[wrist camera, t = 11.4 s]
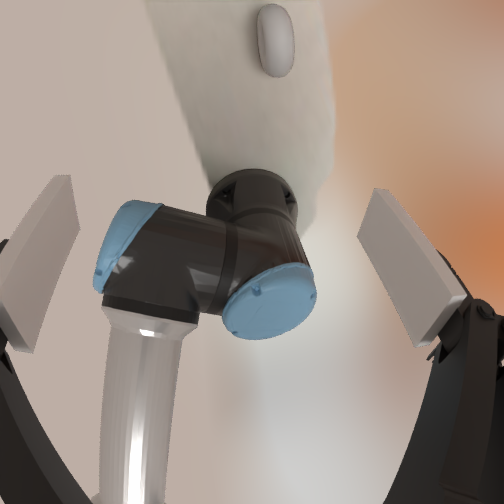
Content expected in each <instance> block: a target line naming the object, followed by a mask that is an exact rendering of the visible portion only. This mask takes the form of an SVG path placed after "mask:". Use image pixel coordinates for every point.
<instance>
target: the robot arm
mask: <svg viewBox="0 0 504 504" xmlns="http://www.w3.org/2000/svg"><path fill="white" fill-rule="evenodd" d="M297 214H298V208H297V202H296V199H295V196H294V194H293V192H292V190H291V188H290V186H289V185H288V184H287V182H286V181H285V180H283V179H282V178H281V177H280V176H278V175H276V174H274V173H272V172H269V171H266V170H260V169H248V170H242V171H238V172H235V173H233V174H231V175H229V176H227V177H225V178H224V179H222V180H221V181H220V182H219V183H218V184H217V185H216V186H215V187H214V188H213V190H212V191H211V193H210V195H209V197H208V200H207V204H206V216H204V215H200V214H196V213H192V212H188V211H184V210H180V209H176V208H173V207H168V206H165V205H164V204H162V203H158V204H155V203H150V202H143V201H139V200H132V201H128V202H126V203H125V204H123V205H122V206H121V207H120V209H119V210H118V211H117V213H116V215H115V216H114V218H113V220H112V222H111V224H110V226H109V229H108V231H107V233H106V236H105V238H104V241H103V244H102V247H101V250H100V253H99V256H98V260H97V263H96V264H97V266H96V269H95V273H94V277H93V287H94V289H95V290H96V291H98V292H99V293H101V294H102V293H103V292H104V296H103V301H102V307H101V308H102V310H103V312H104V313H105V315H106V316H107V318H108V319H109V321H110V324H111V332H110V338H109V345H108V353H107V362H106V370H105V380H104V389H103V402H102V416H101V433H100V465H99V467H100V468H99V487H100V493H98V494H96V495H95V496H93V497H92V499H91V500H90V499H89V498H88V497H87V496H86V494H85V493H84V491H83V490H82V489H81V487H80V486H79V484H78V483H77V482H76V480H75V479H74V478H73V476H72V474H71V473H70V472H69V470H68V469H67V467H66V466H65V464H64V462H63V461H62V459H61V458H60V456H59V455H58V453H57V451H56V450H55V448H54V447H53V445H52V443H51V441H50V440H49V438H48V436H47V435H46V433H45V431H44V429H43V427H42V426H41V424H40V422H39V420H38V418H37V417H36V414H35V413H34V411H33V409H32V407H31V405H30V403H29V401H28V399H27V396H26V394H25V392H24V390H23V388H22V386H21V384H20V381H19V379H18V377H17V374H16V372H15V370H14V367H13V365H12V362H11V360H10V358H9V355H8V353H7V352H6V351H5V347H6V344H7V341H9V343H10V344H11V346H12V347H13V349H14V350H15V351H21V352H27V353H33V351H34V348H35V345H36V341H37V338H38V335H39V332H40V329H41V326H42V323H43V320H44V317H45V314H46V311H47V308H48V305H49V303H50V300H51V297H52V294H53V292H54V289H55V286H56V284H57V281H58V279H59V276H60V274H61V271H62V269H63V266H64V264H65V262H66V259H67V257H68V255H69V253H70V250H71V248H72V246H73V243H74V241H75V239H76V237H77V235H78V232H79V230H80V226H79V222H78V216H77V211H76V206H75V201H74V196H73V189H72V184H71V177H70V175H55V176H54V177H53V178H52V179H51V181H50V182H49V183H48V184H47V186H46V187H45V189H44V190H43V191H42V192H41V194H40V195H39V197H38V198H37V200H36V201H35V202H34V203H33V205H32V206H31V208H30V209H29V210H28V212H27V213H26V215H25V216H24V218H23V219H22V221H21V222H20V224H19V225H18V227H17V228H16V230H15V231H14V233H13V234H12V236H11V237H10V239H8V240H7V239H4V240H3V241H2V242H1V243H0V496H1V498H2V500H3V501H4V503H5V504H165V503H164V498H165V484H166V472H167V462H168V452H169V441H170V432H171V423H172V414H173V406H174V397H175V390H176V382H177V374H178V367H179V359H180V352H181V345H182V340H183V338H184V337H185V336H186V335H187V334H189V333H190V332H191V331H193V330H194V329H196V328H197V326H198V320H199V314H200V312H202V313H208V314H214V315H220V316H222V320H223V323H224V325H225V326H226V328H227V330H228V331H230V332H231V333H232V334H233V335H234V336H236V337H239V338H243V339H248V340H260V339H267V338H272V337H275V336H278V335H281V334H283V333H285V332H287V331H290V330H291V329H293V328H295V327H296V326H298V325H299V324H300V323H301V322H303V321H304V320H305V319H306V318H307V317H308V315H309V314H310V313H311V311H312V309H313V308H314V305H315V302H316V298H317V292H316V287H315V283H314V279H313V278H314V276H313V272H312V269H311V267H310V265H309V262H308V260H307V257H306V255H305V252H304V249H303V247H302V245H301V242H300V239H299V237H298V234H297V232H296V221H297ZM357 238H358V239H359V241H360V243H361V244H362V246H363V248H364V250H365V252H366V253H367V255H368V257H369V259H370V261H371V262H372V264H373V266H374V268H375V270H376V272H377V273H378V275H379V277H380V279H381V281H382V282H383V285H384V287H385V289H386V290H387V292H388V294H389V296H390V298H391V300H392V302H393V304H394V306H395V308H396V310H397V312H398V314H399V316H400V318H401V320H402V322H403V324H404V326H405V328H406V330H407V332H408V335H409V337H410V339H411V341H412V343H413V345H414V347H421V346H427V345H430V344H431V342H432V341H433V340H434V339H435V337H436V336H437V335H438V336H439V338H440V340H441V342H440V343H439V344H438V345H437V346H436V348H435V349H434V350H433V351H432V352H431V354H430V355H429V356H428V358H427V360H430V359H431V357H432V356H434V360H433V361H432V363H433V365H432V369H431V373H430V377H429V381H428V384H427V388H426V392H425V396H424V399H423V402H422V405H421V409H420V412H419V415H418V418H417V421H416V424H415V427H414V431H413V433H412V436H411V439H410V442H409V444H408V447H407V450H406V452H405V455H404V458H403V460H402V463H401V465H400V468H399V471H398V472H397V475H396V477H395V480H394V482H393V484H392V486H391V489H390V491H389V493H388V495H387V498H386V499H385V501H384V503H383V504H504V366H502V363H501V361H502V360H503V359H504V316H501V315H497V314H496V313H495V311H494V309H493V308H492V307H491V306H490V305H489V304H488V303H487V302H485V301H484V300H481V299H473V297H472V295H471V294H470V293H469V291H468V290H467V288H466V287H465V285H464V283H463V282H462V281H461V279H460V278H459V276H458V275H456V272H455V270H454V269H453V268H451V265H450V263H449V262H448V261H447V259H446V258H445V257H444V256H443V255H442V254H441V253H440V252H439V251H437V250H436V249H435V248H434V247H433V245H432V244H431V242H430V241H429V240H428V238H427V237H426V236H425V235H424V233H423V232H422V231H421V229H420V228H419V227H418V226H417V224H416V223H415V222H414V220H413V219H412V218H411V217H410V215H408V213H407V212H406V211H405V209H404V208H403V207H402V206H401V205H400V203H399V202H398V201H397V200H396V199H395V197H394V196H393V195H392V194H391V193H390V192H389V190H385V189H377V188H374V191H373V194H372V197H371V200H370V202H369V205H368V208H367V211H366V214H365V216H364V219H363V222H362V224H361V227H360V230H359V232H358V235H357Z"/></svg>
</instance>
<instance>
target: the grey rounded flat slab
mask: <svg viewBox="0 0 504 504" xmlns="http://www.w3.org/2000/svg"><path fill="white" fill-rule="evenodd" d="M257 35H258V47H259V54H260V59H261V63H262V67H263V69H264V71H265V72H266V73H267V74H268V75H269V76H272V77H278V78H280V77H284V76H286V75H287V74H288V73H289V72H290V70H291V68H292V66H293V62H294V53H295V44H294V32H293V26H292V22H291V19H290V16H289V14H288V13H287V11H286V9H284V8H283V7H281V6H279V5H277V4H268V5H266V6H264V7H263V8H262V9H261V10H260V12H259V14H258V20H257Z"/></svg>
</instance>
